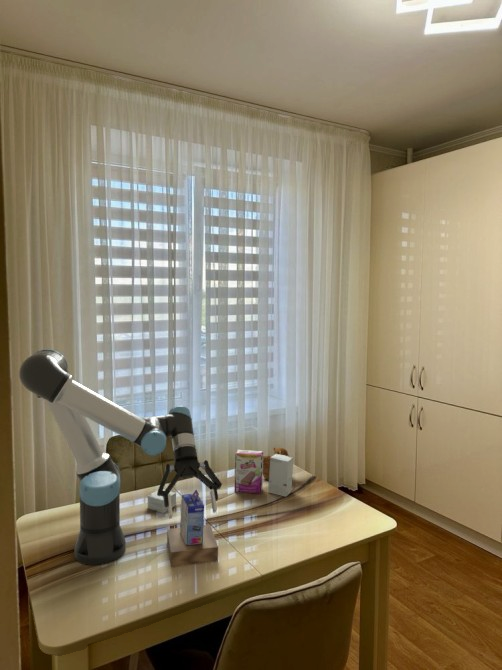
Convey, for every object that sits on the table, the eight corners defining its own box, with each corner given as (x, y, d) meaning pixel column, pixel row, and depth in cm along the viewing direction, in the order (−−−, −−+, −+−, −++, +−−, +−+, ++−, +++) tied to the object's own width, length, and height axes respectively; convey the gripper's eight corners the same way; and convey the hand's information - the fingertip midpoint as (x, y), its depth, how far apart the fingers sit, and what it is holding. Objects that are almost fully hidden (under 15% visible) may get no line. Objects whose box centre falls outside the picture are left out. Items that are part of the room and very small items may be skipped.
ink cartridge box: (204, 544, 143) (205, 497, 142) (186, 547, 141) (186, 500, 140) (196, 528, 152) (197, 485, 151) (179, 531, 150) (180, 487, 149)
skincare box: (268, 493, 191) (268, 457, 189) (274, 487, 196) (274, 452, 195) (287, 497, 187) (287, 461, 186) (292, 491, 192) (293, 456, 191)
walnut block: (170, 568, 138) (170, 552, 138) (167, 544, 152) (167, 529, 151) (217, 562, 142) (218, 546, 141) (210, 539, 155) (210, 524, 155)
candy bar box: (234, 492, 191) (234, 453, 189) (235, 487, 195) (236, 449, 194) (261, 494, 189) (262, 454, 188) (262, 489, 194) (263, 450, 193)
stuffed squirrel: (294, 480, 204) (295, 451, 203) (263, 483, 200) (263, 453, 199) (286, 472, 213) (287, 443, 212) (256, 475, 210) (257, 446, 208)
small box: (176, 505, 179) (176, 492, 178) (162, 513, 172) (162, 500, 171) (160, 500, 182) (160, 488, 182) (146, 508, 176) (146, 495, 175)
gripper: (219, 451, 163) (230, 513, 150) (145, 458, 155) (150, 523, 142) (223, 441, 158) (235, 504, 145) (147, 448, 150) (152, 514, 137)
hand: (193, 514), depth 143 cm, fingers open, 13 cm apart
